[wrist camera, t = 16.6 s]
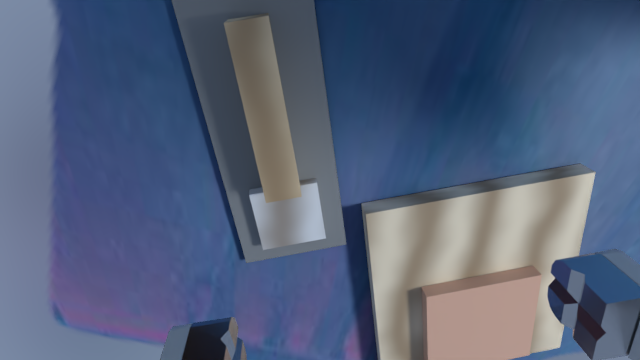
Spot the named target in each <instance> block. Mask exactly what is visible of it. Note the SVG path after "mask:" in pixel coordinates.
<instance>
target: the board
mask: <svg viewBox="0 0 640 360" xmlns="http://www.w3.org/2000/svg"><path fill="white" fill-rule="evenodd" d="M594 177H595V172H594V171H593V170H591V169H589V168H587V167H586V166H584V165H582V164H575V165H570V166H564V167H559V168H553V169H548V170H542V171H537V172H531V173H526V174H520V175H515V176H509V177H504V178H498V179H493V180H487V181H482V182H476V183H471V184H465V185H460V186H454V187H449V188H443V189H438V190H432V191H427V192H421V193H416V194H410V195H404V196H399V197H393V198H388V199H382V200H377V201H371V202H366V203H361V205H362V215H363V224H364V234H365V243H366V253H367V262H368V272H369V281H370V290H371V300H372V309H373V319H374V328H375V338H376V347H377V357H378V360H423V325H422V288H421V287H424V286H429V285H434V284H440V283H445V282H450V281H455V280H460V279H466V278H471V277H476V276H481V275H487V274H492V273H497V272H502V271H507V270H513V269H518V268H523V267H528V266H534V267H535V268H536V269H537V270H538V271H539V273H540V274H541V275H542V277H541V284H540V290H539V297H538V303H537V309H536V316H535V322H534V329H533V335H532V342H531V348H530V353H535V352H540V351H545V350H550V349H555V348H560V344H561V339H562V334H563V329H564V325H563V324H561V323H560V322H559V320H558V319H557V318H556V317H555V315H554V314H553V312H552V310H551V308H550V305H549V301H548V297H547V294H548V286H549V285H550V284H551V283H552V281H553V280H554V279H555V277H554V276H553V275H552V274H551V267H552V264H553V263H554V261H555V260H559V259H564V258H569V257H575V256H579V251H580V246H581V241H582V236H583V231H584V226H585V221H586V217H587V212H588V207H589V202H590V197H591V192H592V187H593V182H594Z"/></svg>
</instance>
